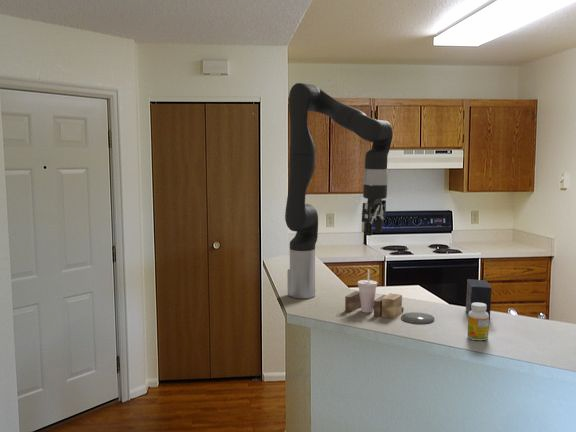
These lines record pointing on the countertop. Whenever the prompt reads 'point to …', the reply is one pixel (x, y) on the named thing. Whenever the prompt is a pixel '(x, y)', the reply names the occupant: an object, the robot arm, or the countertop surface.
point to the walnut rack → (377, 304)
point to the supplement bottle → (478, 322)
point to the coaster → (417, 318)
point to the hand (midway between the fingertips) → (373, 233)
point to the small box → (478, 294)
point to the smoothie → (367, 294)
